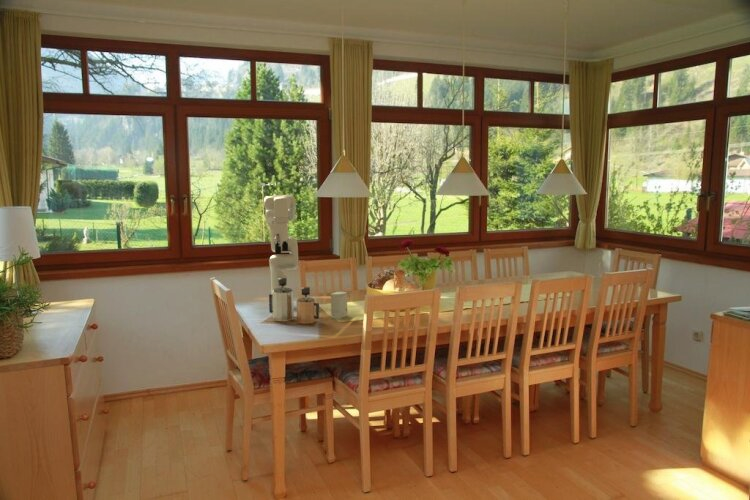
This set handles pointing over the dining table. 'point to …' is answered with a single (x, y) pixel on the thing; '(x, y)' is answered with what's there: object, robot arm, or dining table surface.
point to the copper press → (307, 310)
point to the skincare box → (338, 305)
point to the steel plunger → (282, 282)
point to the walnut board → (291, 322)
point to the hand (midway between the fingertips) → (281, 252)
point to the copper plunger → (305, 291)
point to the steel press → (282, 304)
